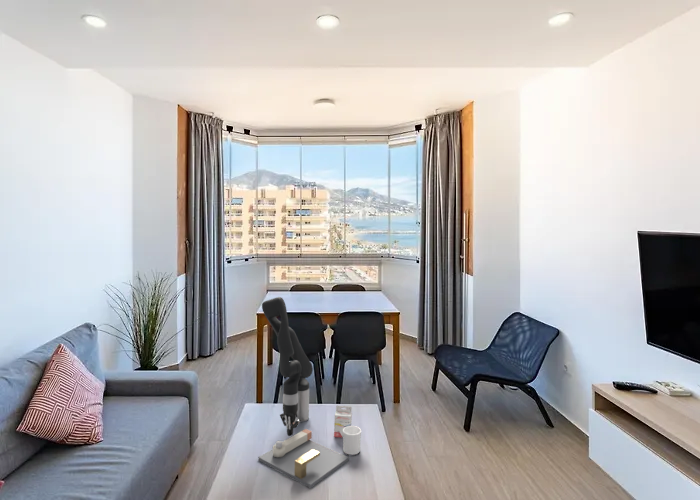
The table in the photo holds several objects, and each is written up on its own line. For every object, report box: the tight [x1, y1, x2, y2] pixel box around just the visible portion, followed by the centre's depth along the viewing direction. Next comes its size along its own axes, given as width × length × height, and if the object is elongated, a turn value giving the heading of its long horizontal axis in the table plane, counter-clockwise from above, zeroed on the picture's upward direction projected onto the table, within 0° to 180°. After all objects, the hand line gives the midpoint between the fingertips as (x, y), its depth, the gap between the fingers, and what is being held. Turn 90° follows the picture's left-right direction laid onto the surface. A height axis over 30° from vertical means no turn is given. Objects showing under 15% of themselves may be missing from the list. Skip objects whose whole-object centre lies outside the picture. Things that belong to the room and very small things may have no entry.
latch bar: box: [272, 428, 313, 457], centre depth 196 cm, size 23×6×6 cm, turn 143°
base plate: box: [258, 439, 350, 489], centre depth 188 cm, size 32×26×2 cm
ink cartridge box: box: [333, 405, 353, 439], centre depth 211 cm, size 9×5×15 cm, turn 84°
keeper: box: [295, 449, 320, 479], centre depth 177 cm, size 4×12×8 cm, turn 143°
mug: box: [342, 425, 362, 456], centre depth 197 cm, size 11×9×10 cm
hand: (290, 435), depth 204 cm, fingers closed
